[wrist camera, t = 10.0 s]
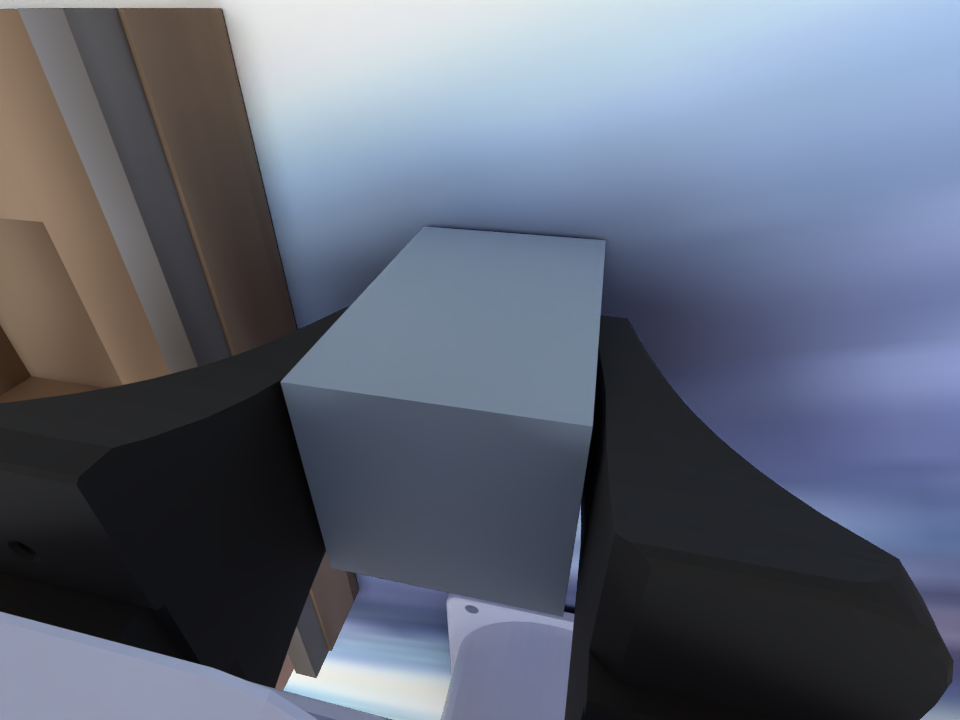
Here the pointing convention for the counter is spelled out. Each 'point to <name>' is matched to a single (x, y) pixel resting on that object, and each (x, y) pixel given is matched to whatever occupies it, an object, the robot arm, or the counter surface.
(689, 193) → the counter surface
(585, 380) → the block
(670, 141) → the counter surface
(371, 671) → the counter surface
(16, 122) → the board
